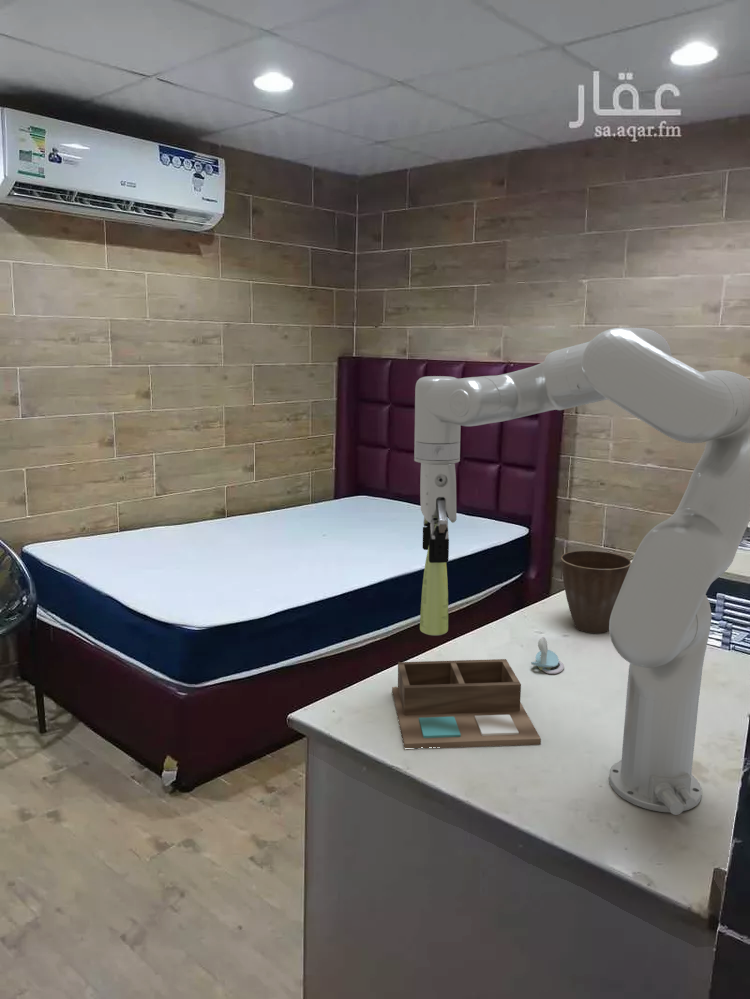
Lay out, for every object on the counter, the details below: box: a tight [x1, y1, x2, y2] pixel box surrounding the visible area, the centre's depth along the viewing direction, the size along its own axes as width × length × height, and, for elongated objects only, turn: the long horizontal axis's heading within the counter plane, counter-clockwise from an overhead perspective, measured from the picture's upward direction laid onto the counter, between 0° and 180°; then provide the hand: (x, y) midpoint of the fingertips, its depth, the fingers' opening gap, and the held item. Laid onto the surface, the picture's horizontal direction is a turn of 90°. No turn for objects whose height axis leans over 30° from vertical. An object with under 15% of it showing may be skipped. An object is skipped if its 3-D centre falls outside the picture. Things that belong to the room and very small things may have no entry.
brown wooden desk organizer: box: [391, 658, 542, 749], centre depth 131 cm, size 20×22×6 cm
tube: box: [419, 525, 449, 636], centre depth 131 cm, size 6×5×20 cm
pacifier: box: [530, 636, 565, 675], centre depth 150 cm, size 7×6×6 cm
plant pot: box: [560, 550, 632, 634], centre depth 171 cm, size 15×15×16 cm
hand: (435, 554), depth 130 cm, fingers closed on tube, 7 cm apart
